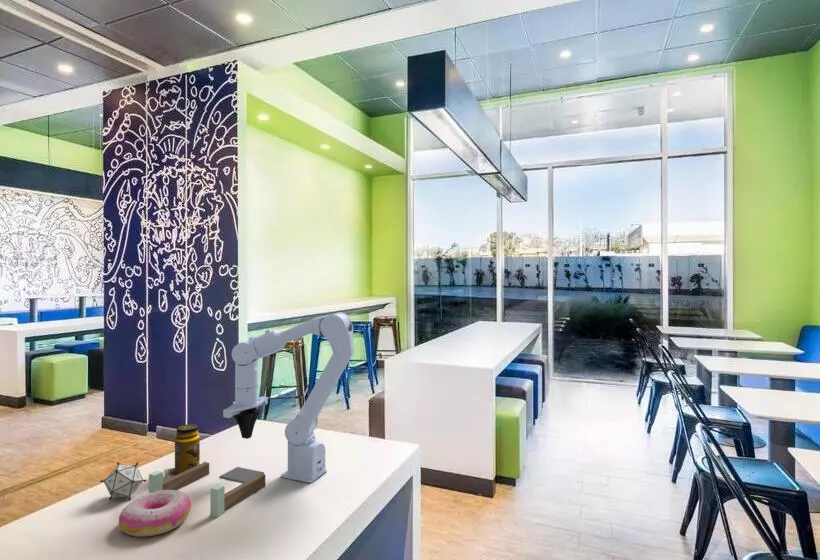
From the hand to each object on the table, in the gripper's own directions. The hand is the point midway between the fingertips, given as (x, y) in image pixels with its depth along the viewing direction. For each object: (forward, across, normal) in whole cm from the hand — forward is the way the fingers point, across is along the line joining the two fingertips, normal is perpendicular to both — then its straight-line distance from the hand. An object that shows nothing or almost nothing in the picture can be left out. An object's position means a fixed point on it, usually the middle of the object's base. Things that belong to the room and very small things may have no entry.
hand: (246, 437), depth 122 cm
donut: (+10, +27, 0) cm, 29 cm away
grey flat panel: (+9, +2, 0) cm, 10 cm away
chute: (+9, +12, 0) cm, 15 cm away
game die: (+10, +22, -17) cm, 29 cm away
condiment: (+10, +6, -16) cm, 20 cm away
